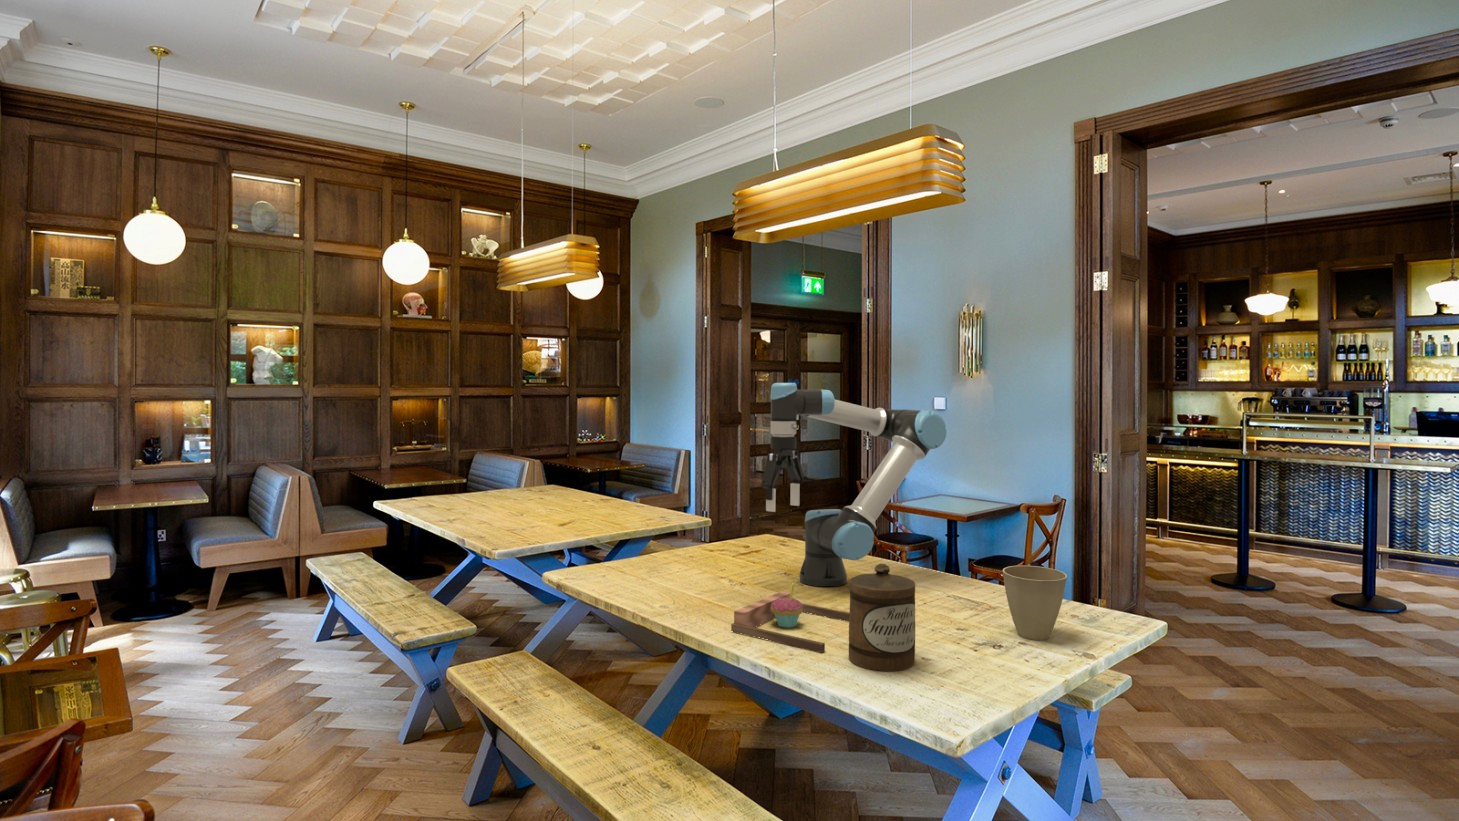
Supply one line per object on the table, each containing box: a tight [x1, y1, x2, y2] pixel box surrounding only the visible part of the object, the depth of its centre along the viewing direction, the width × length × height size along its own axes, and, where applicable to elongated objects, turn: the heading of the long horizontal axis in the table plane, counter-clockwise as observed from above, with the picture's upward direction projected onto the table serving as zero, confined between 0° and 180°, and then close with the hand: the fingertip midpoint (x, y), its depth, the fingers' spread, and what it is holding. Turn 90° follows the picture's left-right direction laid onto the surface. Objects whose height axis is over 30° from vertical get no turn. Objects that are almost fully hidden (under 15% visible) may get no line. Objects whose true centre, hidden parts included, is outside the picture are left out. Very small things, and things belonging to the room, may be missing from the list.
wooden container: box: [848, 563, 916, 672], centre depth 172 cm, size 15×15×22 cm
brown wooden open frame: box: [730, 590, 850, 654], centre depth 194 cm, size 26×26×5 cm
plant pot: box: [1002, 565, 1068, 641], centre depth 189 cm, size 15×15×16 cm
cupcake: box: [771, 580, 804, 629], centre depth 196 cm, size 9×8×12 cm
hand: (783, 508), depth 220 cm, fingers open, 13 cm apart
